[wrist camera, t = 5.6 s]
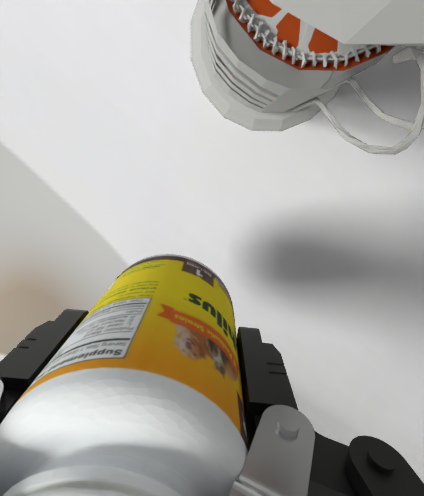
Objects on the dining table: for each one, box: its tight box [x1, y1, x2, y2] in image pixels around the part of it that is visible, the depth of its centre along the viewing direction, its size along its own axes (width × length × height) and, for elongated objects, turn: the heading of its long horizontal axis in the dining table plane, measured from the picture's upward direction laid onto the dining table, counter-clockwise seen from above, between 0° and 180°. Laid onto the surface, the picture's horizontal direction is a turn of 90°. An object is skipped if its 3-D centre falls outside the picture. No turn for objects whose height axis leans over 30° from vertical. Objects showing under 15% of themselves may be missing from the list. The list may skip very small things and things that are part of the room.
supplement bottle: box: [0, 254, 249, 496], centre depth 9 cm, size 6×6×10 cm
